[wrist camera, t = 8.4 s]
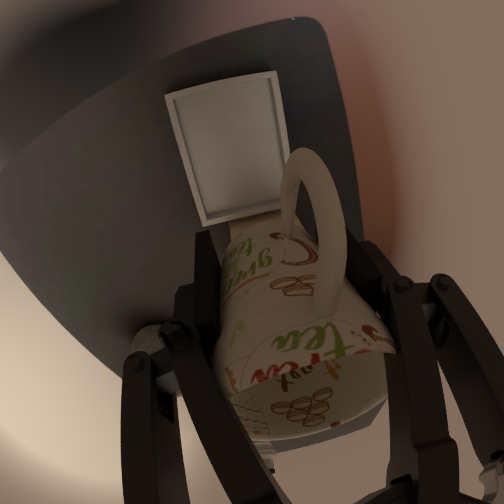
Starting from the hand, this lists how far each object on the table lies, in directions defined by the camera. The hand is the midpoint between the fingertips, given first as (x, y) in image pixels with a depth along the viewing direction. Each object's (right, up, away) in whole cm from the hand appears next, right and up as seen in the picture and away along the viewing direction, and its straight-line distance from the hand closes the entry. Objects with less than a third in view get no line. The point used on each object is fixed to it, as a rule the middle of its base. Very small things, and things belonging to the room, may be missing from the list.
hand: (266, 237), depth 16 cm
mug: (0, 0, +1) cm, 1 cm away
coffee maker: (-2, +9, +20) cm, 22 cm away
